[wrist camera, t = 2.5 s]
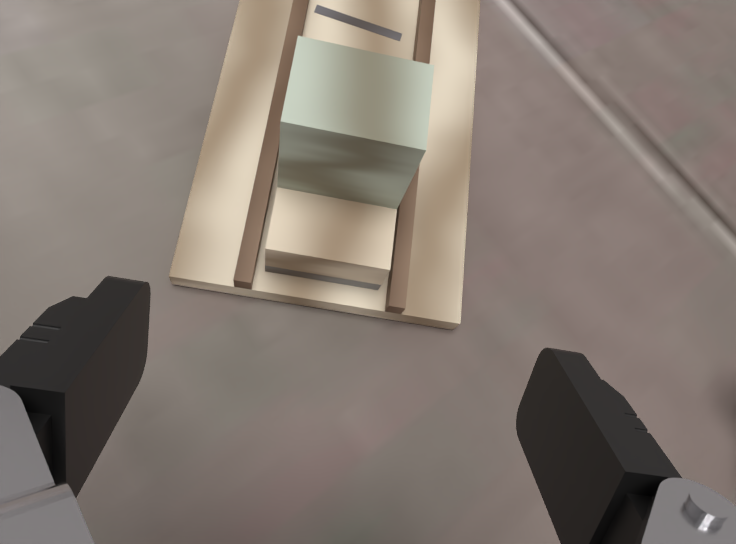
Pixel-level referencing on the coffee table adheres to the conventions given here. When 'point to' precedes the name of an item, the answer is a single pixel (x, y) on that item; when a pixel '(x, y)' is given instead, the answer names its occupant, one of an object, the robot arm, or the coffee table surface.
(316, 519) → the coffee table surface
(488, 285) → the coffee table surface
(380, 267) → the block
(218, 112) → the birch plank
